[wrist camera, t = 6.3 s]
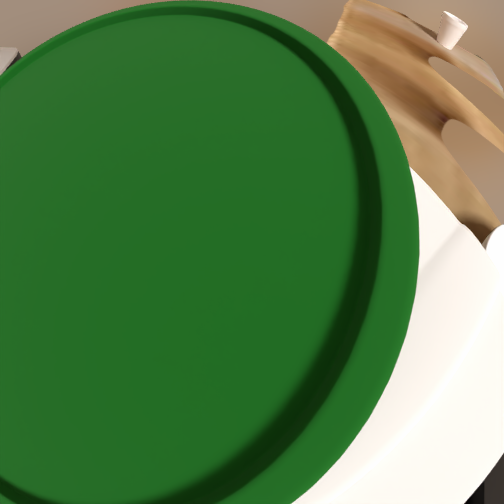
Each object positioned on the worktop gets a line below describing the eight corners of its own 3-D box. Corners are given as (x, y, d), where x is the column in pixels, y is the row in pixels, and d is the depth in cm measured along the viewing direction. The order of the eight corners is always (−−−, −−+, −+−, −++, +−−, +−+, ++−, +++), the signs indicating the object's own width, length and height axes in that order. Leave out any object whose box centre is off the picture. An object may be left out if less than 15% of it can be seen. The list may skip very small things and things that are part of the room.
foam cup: (428, 36, 59) (439, 9, 47) (438, 37, 61) (449, 12, 48) (449, 52, 56) (463, 25, 44) (458, 52, 58) (471, 27, 46)
